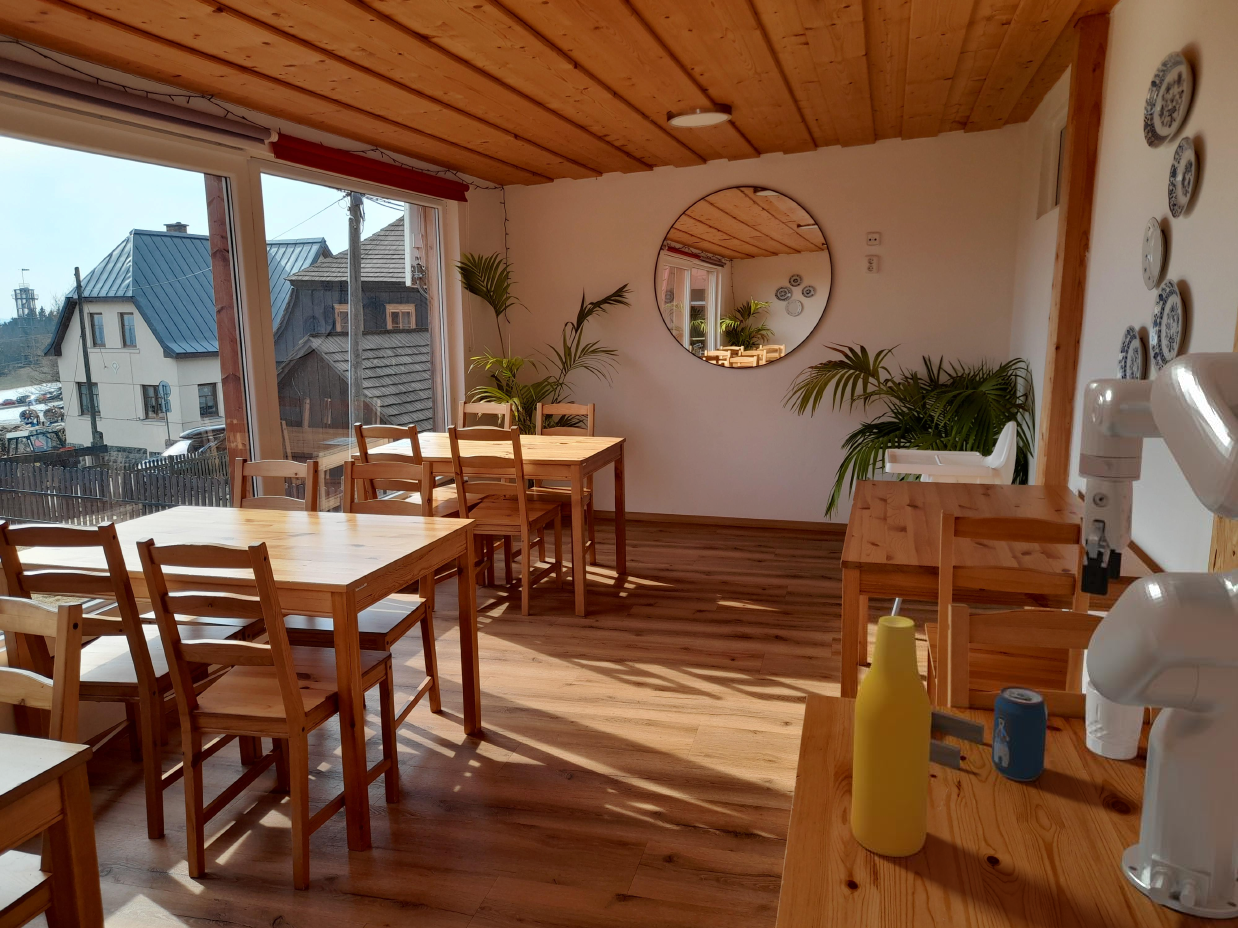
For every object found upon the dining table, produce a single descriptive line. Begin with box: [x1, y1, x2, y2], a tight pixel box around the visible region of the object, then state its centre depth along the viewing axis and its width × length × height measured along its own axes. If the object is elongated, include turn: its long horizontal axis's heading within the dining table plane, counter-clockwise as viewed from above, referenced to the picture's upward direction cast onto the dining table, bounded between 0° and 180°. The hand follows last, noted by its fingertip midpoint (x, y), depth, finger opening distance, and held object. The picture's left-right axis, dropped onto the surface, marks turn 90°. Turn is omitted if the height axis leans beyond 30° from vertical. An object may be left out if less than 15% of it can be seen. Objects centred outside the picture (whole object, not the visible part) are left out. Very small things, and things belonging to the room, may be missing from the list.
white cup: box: [1085, 679, 1145, 761], centre depth 129 cm, size 8×8×10 cm
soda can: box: [991, 685, 1049, 782], centre depth 122 cm, size 7×7×12 cm
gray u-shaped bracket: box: [929, 708, 985, 770], centre depth 131 cm, size 11×9×3 cm
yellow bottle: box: [850, 615, 932, 858], centre depth 106 cm, size 9×9×29 cm
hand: (1100, 585), depth 120 cm, fingers open, 9 cm apart
